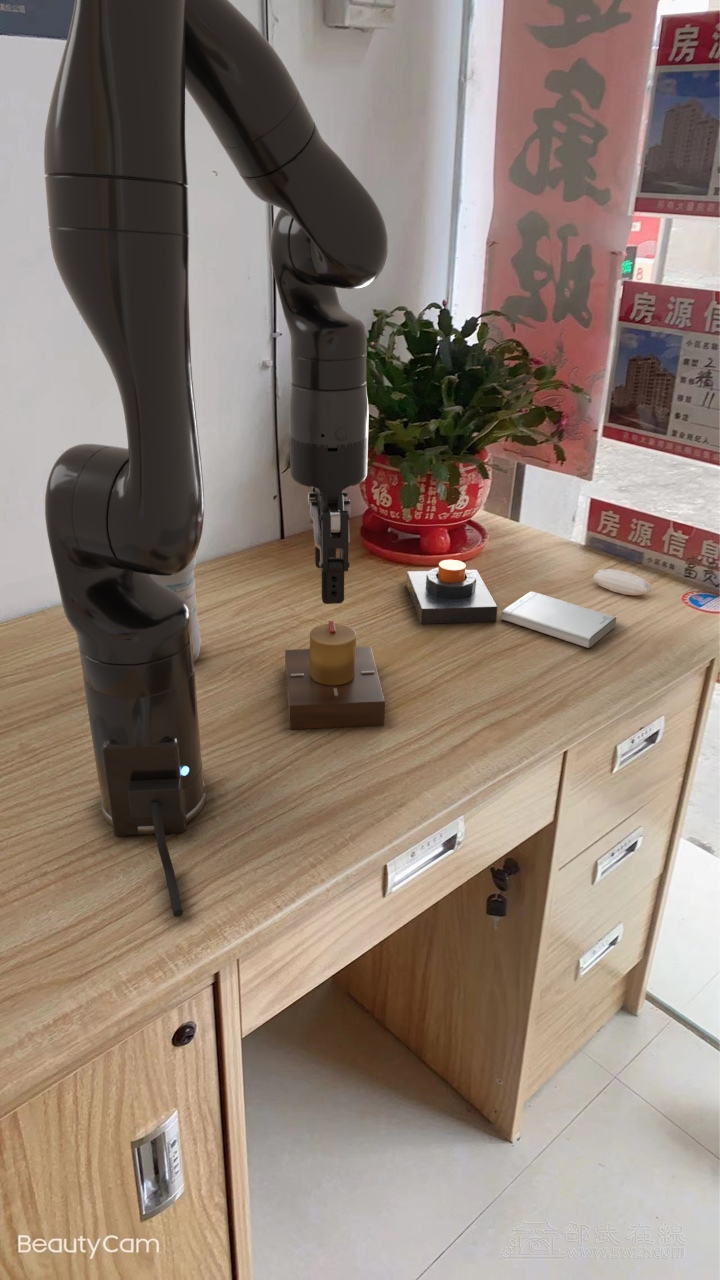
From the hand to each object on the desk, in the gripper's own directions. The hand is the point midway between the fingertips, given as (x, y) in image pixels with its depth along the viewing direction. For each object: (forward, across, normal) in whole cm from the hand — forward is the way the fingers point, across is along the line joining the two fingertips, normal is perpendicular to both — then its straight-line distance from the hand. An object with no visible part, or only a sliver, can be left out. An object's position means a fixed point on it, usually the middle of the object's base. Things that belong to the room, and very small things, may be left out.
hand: (329, 583), depth 92 cm
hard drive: (+14, -15, +32) cm, 38 cm away
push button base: (+14, -22, +18) cm, 32 cm away
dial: (+11, 0, 0) cm, 11 cm away
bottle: (+14, -10, -18) cm, 25 cm away
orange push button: (+11, -23, +19) cm, 31 cm away
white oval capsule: (+15, -24, +44) cm, 52 cm away
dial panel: (+14, 0, 0) cm, 14 cm away
